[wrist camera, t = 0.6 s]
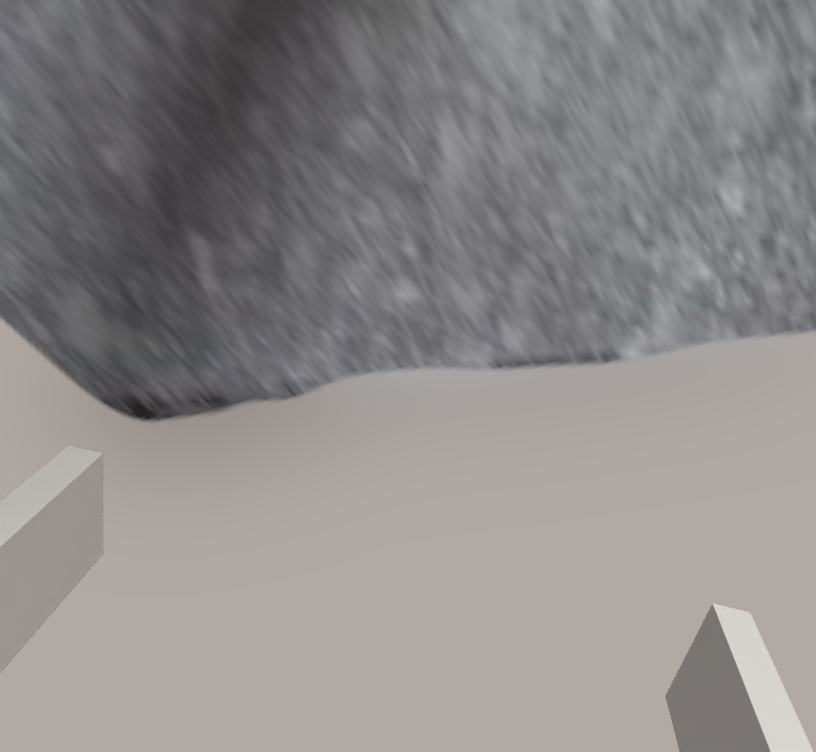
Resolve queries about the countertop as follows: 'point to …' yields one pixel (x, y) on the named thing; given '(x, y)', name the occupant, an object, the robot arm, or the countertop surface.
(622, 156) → the countertop surface
